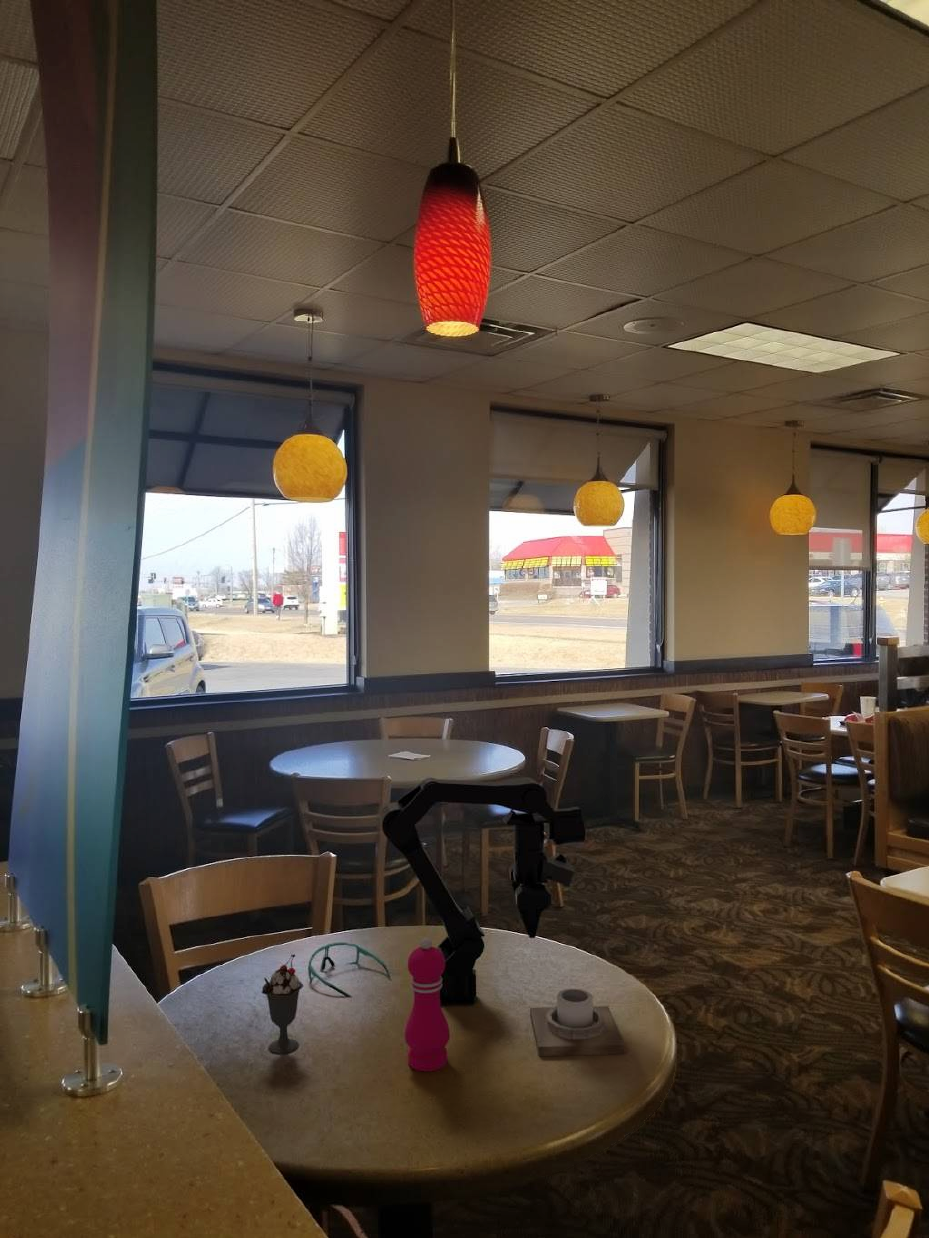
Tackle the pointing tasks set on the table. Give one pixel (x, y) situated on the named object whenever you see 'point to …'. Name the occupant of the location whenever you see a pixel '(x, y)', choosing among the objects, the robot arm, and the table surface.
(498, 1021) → the table surface
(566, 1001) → the lens
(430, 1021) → the pepper mill
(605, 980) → the table surface
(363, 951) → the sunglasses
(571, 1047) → the mount board
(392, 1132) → the table surface
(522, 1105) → the table surface
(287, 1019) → the sundae
